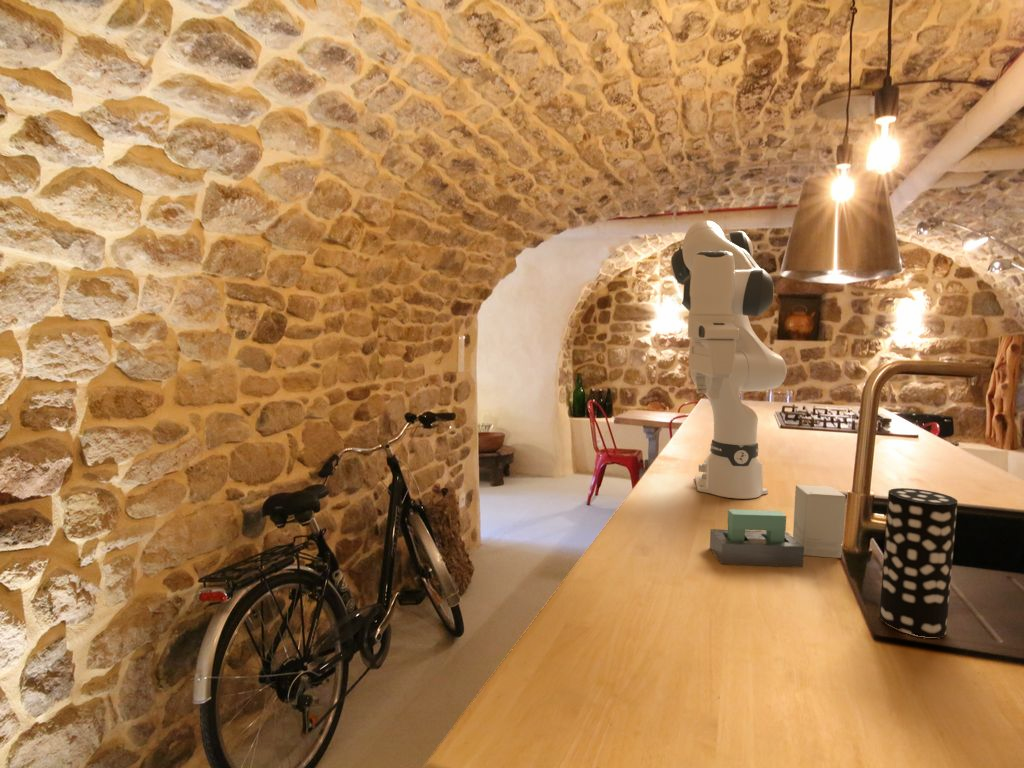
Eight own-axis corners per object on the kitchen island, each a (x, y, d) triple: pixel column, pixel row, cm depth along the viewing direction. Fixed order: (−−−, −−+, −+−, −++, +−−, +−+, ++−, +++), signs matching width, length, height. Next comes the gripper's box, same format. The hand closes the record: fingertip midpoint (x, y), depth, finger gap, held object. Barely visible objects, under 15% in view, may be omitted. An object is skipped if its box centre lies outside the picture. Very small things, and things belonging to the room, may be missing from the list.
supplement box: (843, 559, 110) (847, 496, 109) (802, 555, 112) (805, 493, 110) (829, 545, 117) (833, 485, 116) (791, 542, 119) (794, 483, 118)
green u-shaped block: (726, 553, 112) (728, 509, 112) (777, 555, 112) (780, 511, 111) (730, 559, 109) (732, 514, 109) (783, 561, 109) (786, 516, 108)
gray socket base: (709, 548, 115) (710, 529, 115) (785, 550, 114) (786, 531, 114) (721, 564, 107) (722, 543, 107) (802, 567, 106) (804, 546, 106)
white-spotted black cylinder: (886, 605, 91) (895, 485, 90) (950, 624, 86) (961, 496, 84) (873, 623, 86) (882, 495, 84) (940, 645, 80) (952, 508, 78)
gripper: (683, 329, 127) (680, 389, 128) (708, 329, 107) (704, 402, 108) (711, 329, 126) (708, 390, 128) (742, 330, 106) (738, 402, 108)
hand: (707, 395), depth 118 cm, fingers open, 8 cm apart
